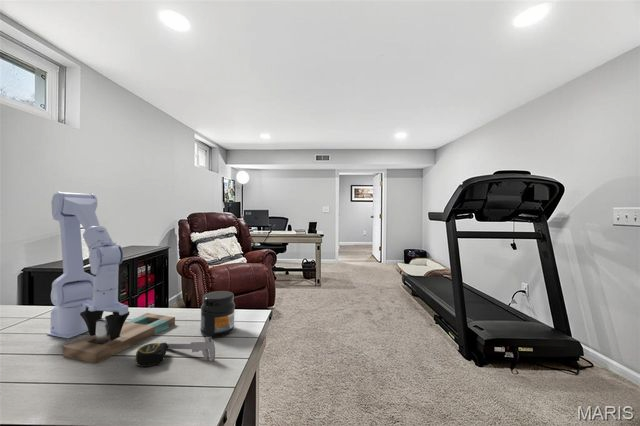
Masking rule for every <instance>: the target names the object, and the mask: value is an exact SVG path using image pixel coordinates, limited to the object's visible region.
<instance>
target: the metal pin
mask: <svg viewBox="0 0 640 426" xmlns="http://www.w3.org/2000/svg"><path fill="white" fill-rule="evenodd" d="M110 341H112V340H110V335H109V326H108V323H107V321H106V319H105V317H102V318H101V319H98V320H96V341H95V344H100V345H103V344H105V343H107V342H110Z"/></svg>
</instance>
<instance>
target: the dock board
mask: <svg viewBox="0 0 640 426" xmlns="http://www.w3.org/2000/svg"><path fill="white" fill-rule="evenodd" d="M175 325H176V317H175V316H169V315H163V314H157V313H149V312H147V313H144V314H141V315H138V316H136V317H134V318H132V319H128V320H125V322H124V324H123V327H122V330H121V333H120V336H119V338H116V339H114V340H112V341H110V342H107V343H105V344H103V345H100V344H95V341H96V335H94V336H90V335H88V336H85V337H83V338H80V339H78V340H75V341H73V342H70V343H68V344H65V345H62V356H63V357H67V358H70V359H76V360H80V361H84V362H89V363H93V364H98V363H99V362H102V361H104V360H106V359H108V358H110V357H112V356H114V355H116V354H118V353H120V352H122V351H124V350H126V349H128V348H130V347H132V346H134V345H136V344H139V343H140V342H142V341H145V340H147V339H148V338H151V337H152V336H155V335H156V334H159V333H160V332H162V331H164V330H167V329H168V328H171V327H173V326H175Z"/></svg>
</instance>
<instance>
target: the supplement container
mask: <svg viewBox="0 0 640 426" xmlns="http://www.w3.org/2000/svg"><path fill="white" fill-rule="evenodd" d="M234 296H235V295H234V293H233V292H232V291H228V290H226V291H225V290H217V291H216V290H215V291H211V292H206V293H205V294H204V295H202V304H201V306H200V333H201V335H202V336H205V337H207V336H208V338H209V337H211V338H220V337H224V336H228V335H229V334H231V333H232V332H233V330H235V307H236V304H235V302H234Z"/></svg>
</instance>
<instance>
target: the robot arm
mask: <svg viewBox="0 0 640 426" xmlns="http://www.w3.org/2000/svg"><path fill="white" fill-rule="evenodd" d="M97 208H98V199H97V196H96V195H95V194H94V193H79V192H64V191H63V192H61V191H56V192H55V193H54V194H53V195H52V198H51V213H52V214H51V215H52V219H53V220H55V221H56V222H59V228H60V239H61V255H62V256H61V257H62V271H63V273H62V274H61V275H60V276H58V277H57V278H56V279H54V280H53V281H52V283H51V292H50V300H51V301H50V302H51V304H53V306H54V307H53V308H52V310H51V312H50V331H48V332H46V335H48V336H53V337H59V338H64V339H71V338H74V337H76V336H79V335H82V334H84V333H87V332H88V333H89V336H94V335H96V320H98V319H101V318H103V315H104V312H108V313H111V314H108V315H105V316H104V318H105V319H106V321H107V323H108V326H109V335H110V340H114V339H116V338H119V336H120V333H121V330H122V327H123V324H124V322H126V321H127V319H128V317H129V315H130V311H129V305H126V304H124V303H121V302H119V267H120V265H121V264H122V263H123V261H124V250H123V247H122V246H121V245H120V244H117V242H113V239H112V237H111V235H110V234H109V231H108V230H107V228H106V227H104V226H101V225H100V222H99V219H98V216H97V214H96V210H97ZM81 227H83V229H84V232H83V233H82V231H81ZM82 238H83V240H84V242H85V244H86V246H87V248H88V251H89V255H88V262H89V266H90V273H88V272H86V271H85V270H84V268H85V267H84V256H83V245H82V244H83V242H82ZM78 281H79V282H78Z"/></svg>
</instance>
